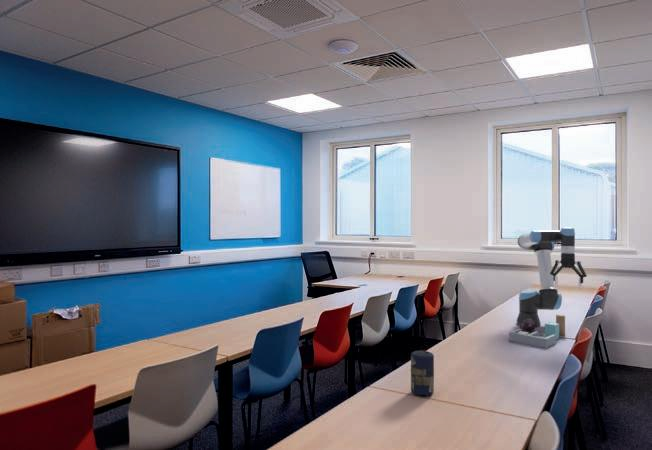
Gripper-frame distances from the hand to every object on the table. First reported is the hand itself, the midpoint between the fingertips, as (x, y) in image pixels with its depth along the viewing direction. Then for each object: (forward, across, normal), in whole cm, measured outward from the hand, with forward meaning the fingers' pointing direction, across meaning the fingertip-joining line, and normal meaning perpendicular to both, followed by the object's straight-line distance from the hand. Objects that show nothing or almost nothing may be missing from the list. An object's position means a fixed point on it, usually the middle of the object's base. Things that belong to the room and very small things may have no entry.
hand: (568, 287), depth 278 cm
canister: (+31, -9, -139) cm, 143 cm away
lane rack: (+31, -11, -25) cm, 41 cm away
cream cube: (+31, -16, -27) cm, 44 cm away
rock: (+31, -22, -6) cm, 38 cm away
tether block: (+31, -6, -3) cm, 31 cm away
